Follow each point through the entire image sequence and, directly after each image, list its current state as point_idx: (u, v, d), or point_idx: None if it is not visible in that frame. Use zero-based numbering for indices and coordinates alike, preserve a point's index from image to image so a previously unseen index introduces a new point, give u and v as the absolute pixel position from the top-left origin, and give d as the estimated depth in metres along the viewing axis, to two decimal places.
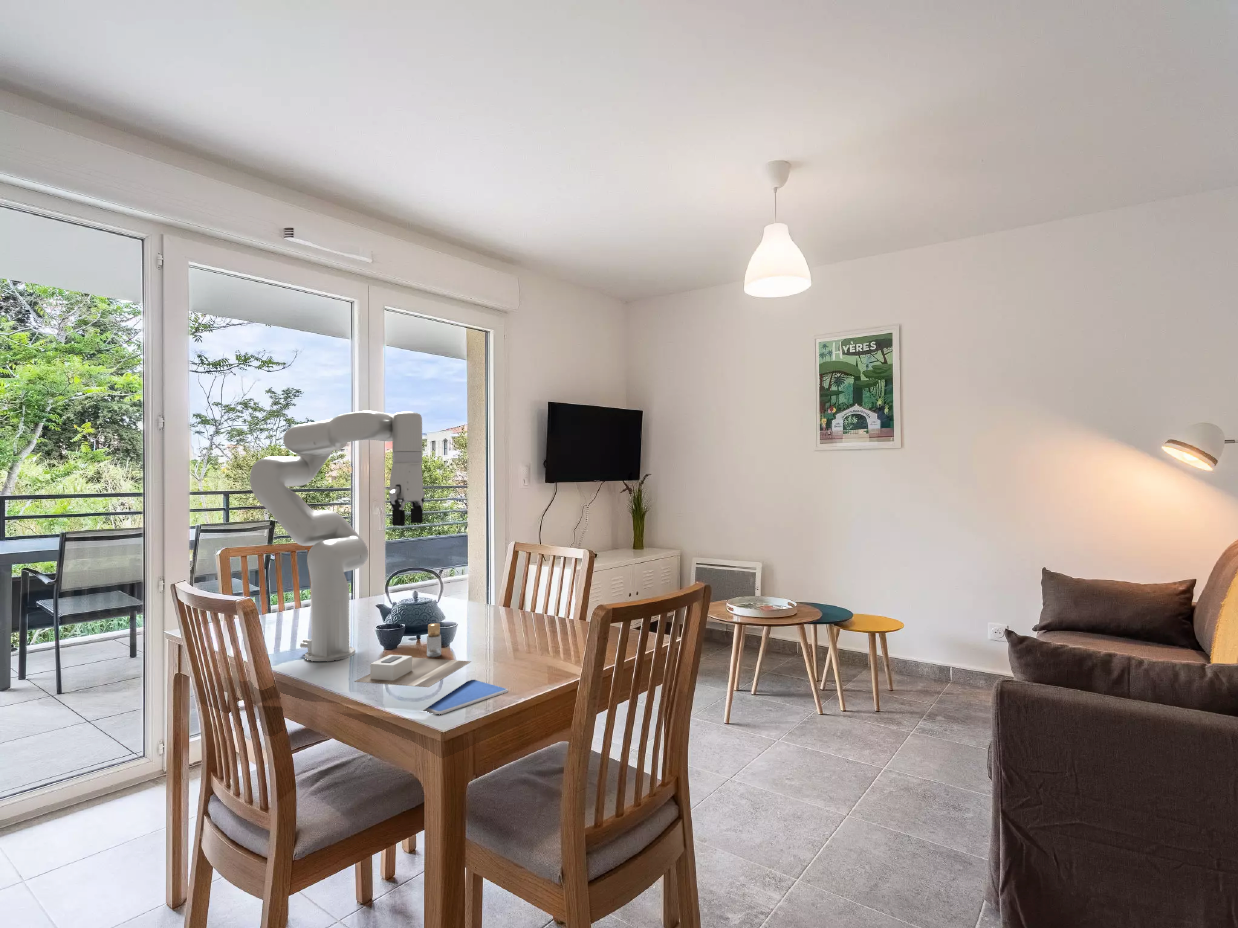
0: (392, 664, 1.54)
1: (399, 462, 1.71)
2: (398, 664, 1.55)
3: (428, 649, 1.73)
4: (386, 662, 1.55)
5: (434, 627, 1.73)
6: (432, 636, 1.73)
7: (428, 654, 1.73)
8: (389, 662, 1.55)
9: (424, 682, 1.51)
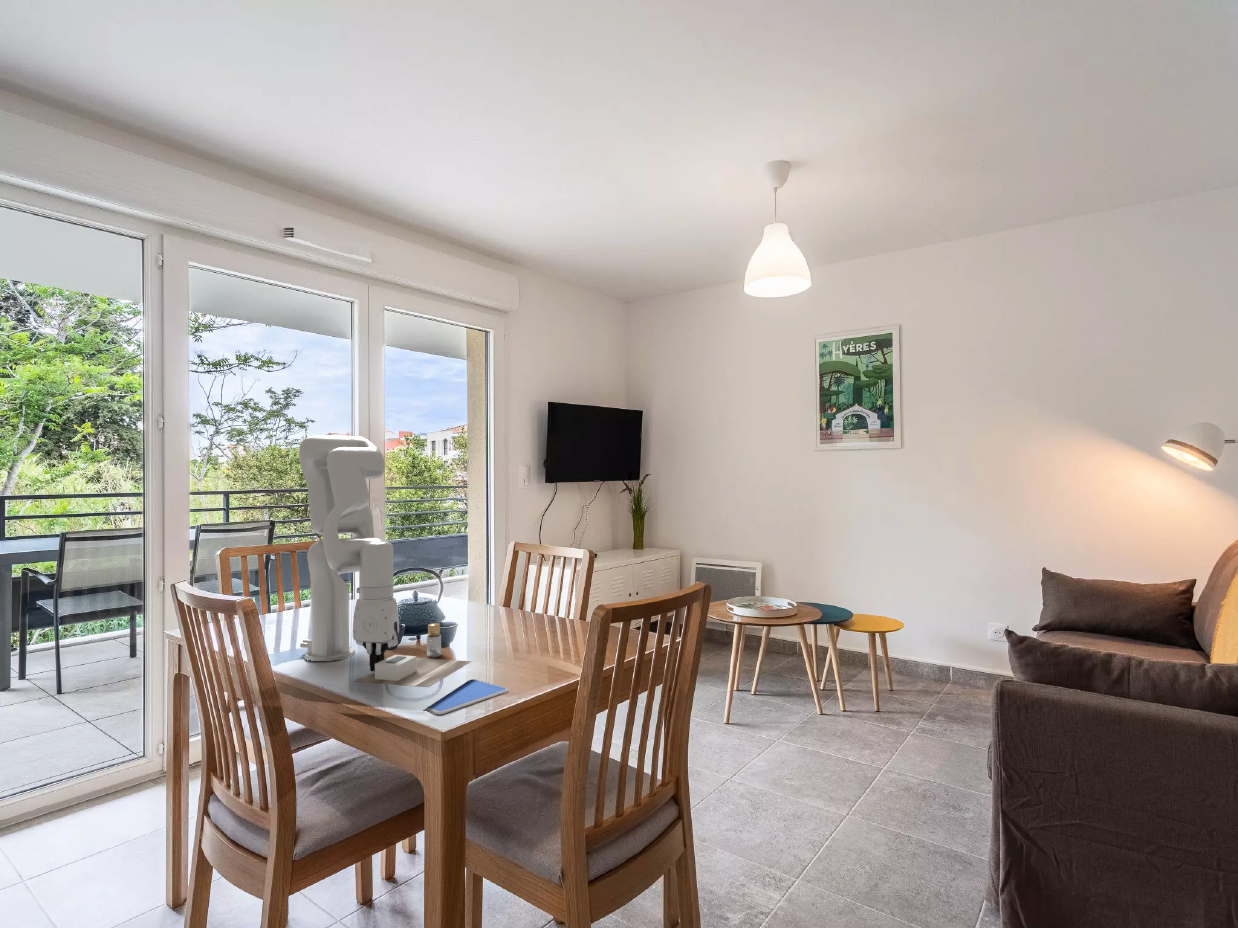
0: (396, 664, 1.53)
1: (389, 597, 1.57)
2: (402, 664, 1.55)
3: (428, 649, 1.73)
4: (390, 662, 1.55)
5: (434, 627, 1.73)
6: (432, 636, 1.73)
7: (428, 654, 1.73)
8: (393, 662, 1.55)
9: (424, 682, 1.51)
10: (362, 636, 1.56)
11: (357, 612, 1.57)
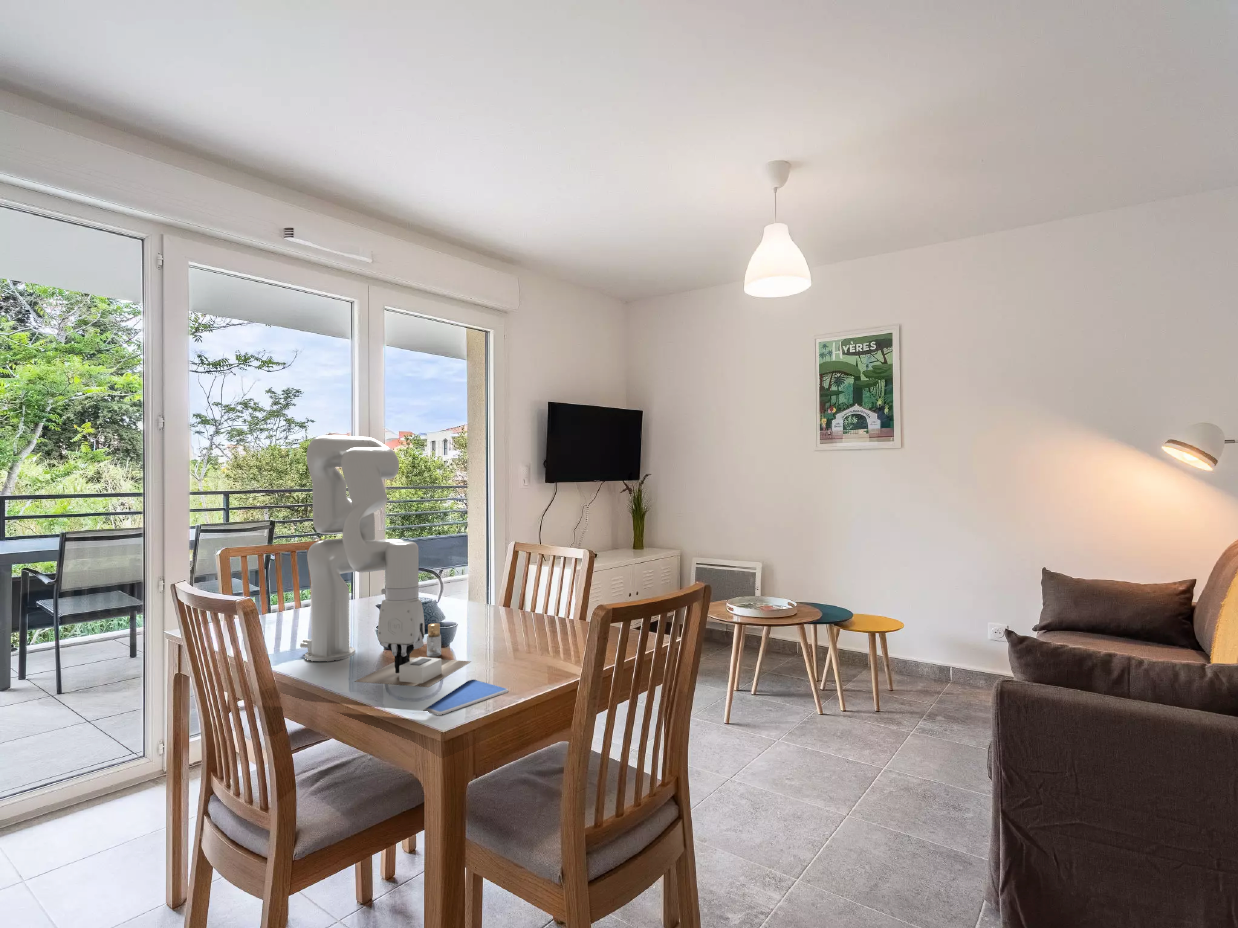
0: (421, 667, 1.51)
1: (415, 598, 1.56)
2: (427, 666, 1.52)
3: (428, 649, 1.73)
4: (415, 664, 1.53)
5: (434, 627, 1.73)
6: (432, 636, 1.73)
7: (428, 654, 1.73)
8: (418, 665, 1.53)
9: (424, 682, 1.51)
10: (388, 638, 1.55)
11: (383, 613, 1.55)
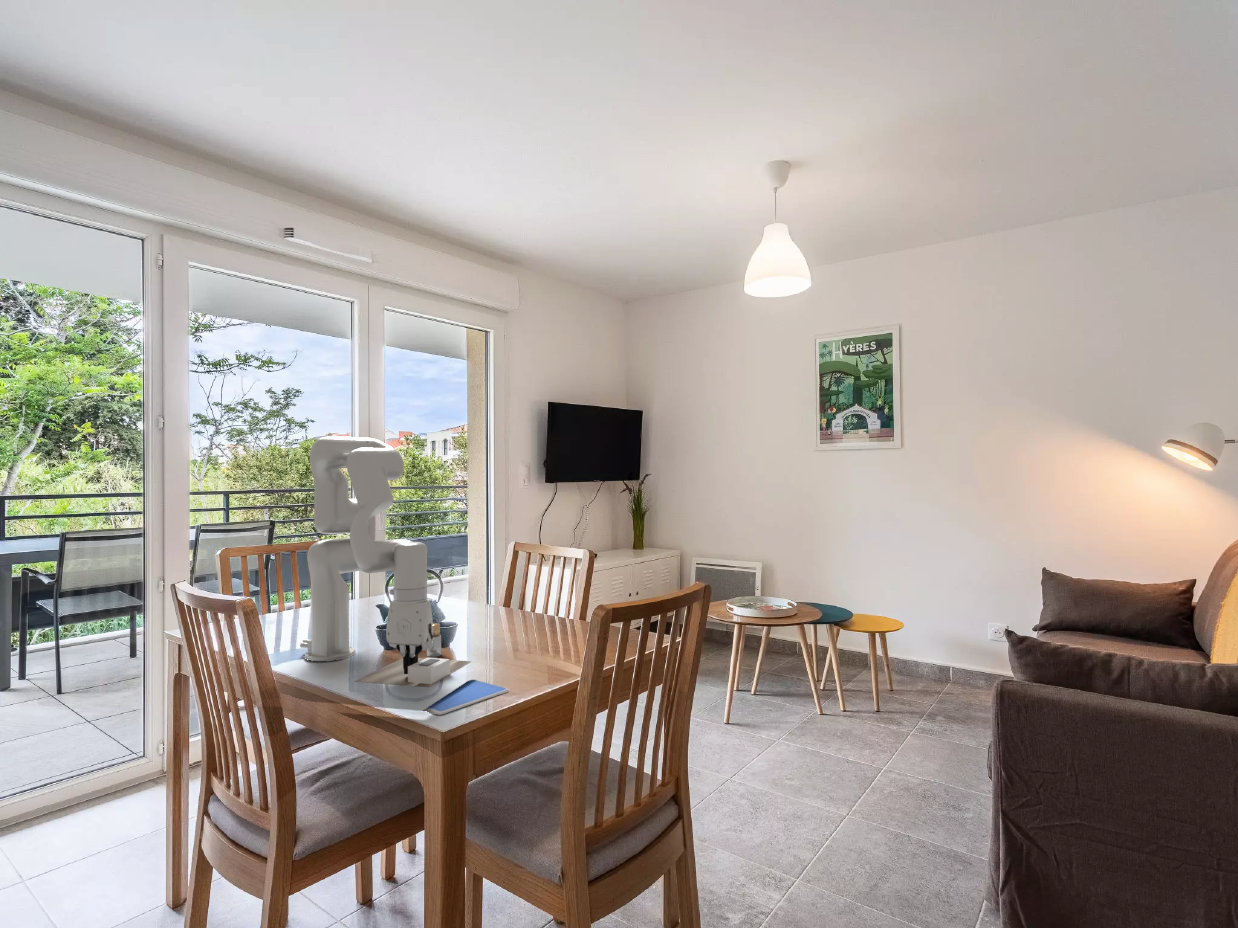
0: (430, 667, 1.51)
1: (424, 599, 1.55)
2: (435, 667, 1.52)
3: (428, 649, 1.73)
4: (424, 665, 1.52)
5: (434, 627, 1.73)
6: None
7: (428, 654, 1.73)
8: (427, 665, 1.52)
9: None
10: (396, 638, 1.54)
11: (391, 613, 1.55)
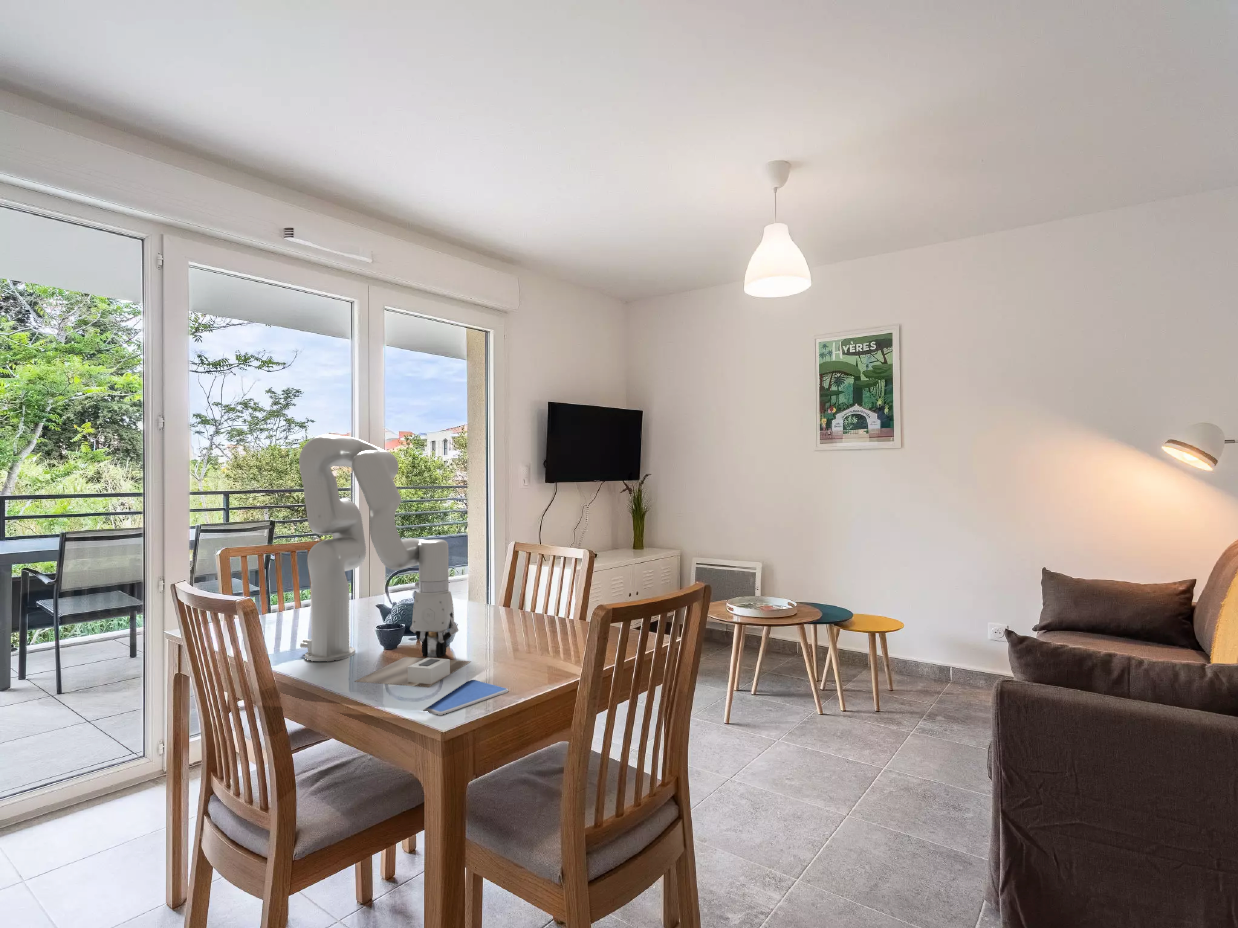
0: (430, 667, 1.51)
1: (446, 590, 1.74)
2: (435, 667, 1.52)
3: (428, 649, 1.73)
4: (424, 665, 1.52)
5: None
6: (432, 636, 1.73)
7: (428, 654, 1.73)
8: (427, 665, 1.52)
9: None
10: (421, 626, 1.73)
11: (417, 603, 1.73)
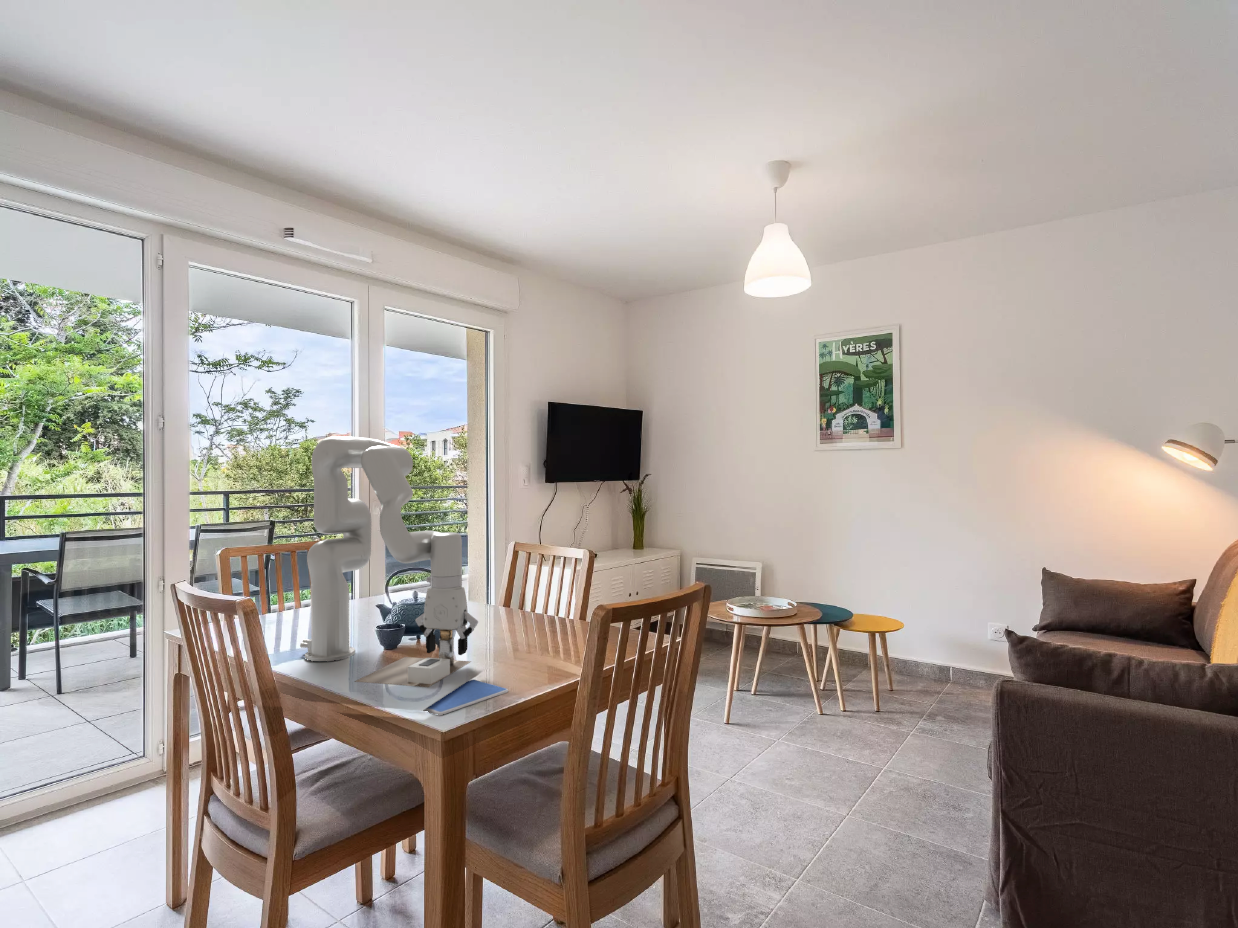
0: (430, 667, 1.51)
1: (459, 586, 1.64)
2: (435, 667, 1.52)
3: (440, 653, 1.64)
4: (424, 665, 1.52)
5: (446, 630, 1.64)
6: (444, 639, 1.64)
7: (440, 658, 1.64)
8: (427, 665, 1.52)
9: None
10: (434, 623, 1.63)
11: (429, 600, 1.64)
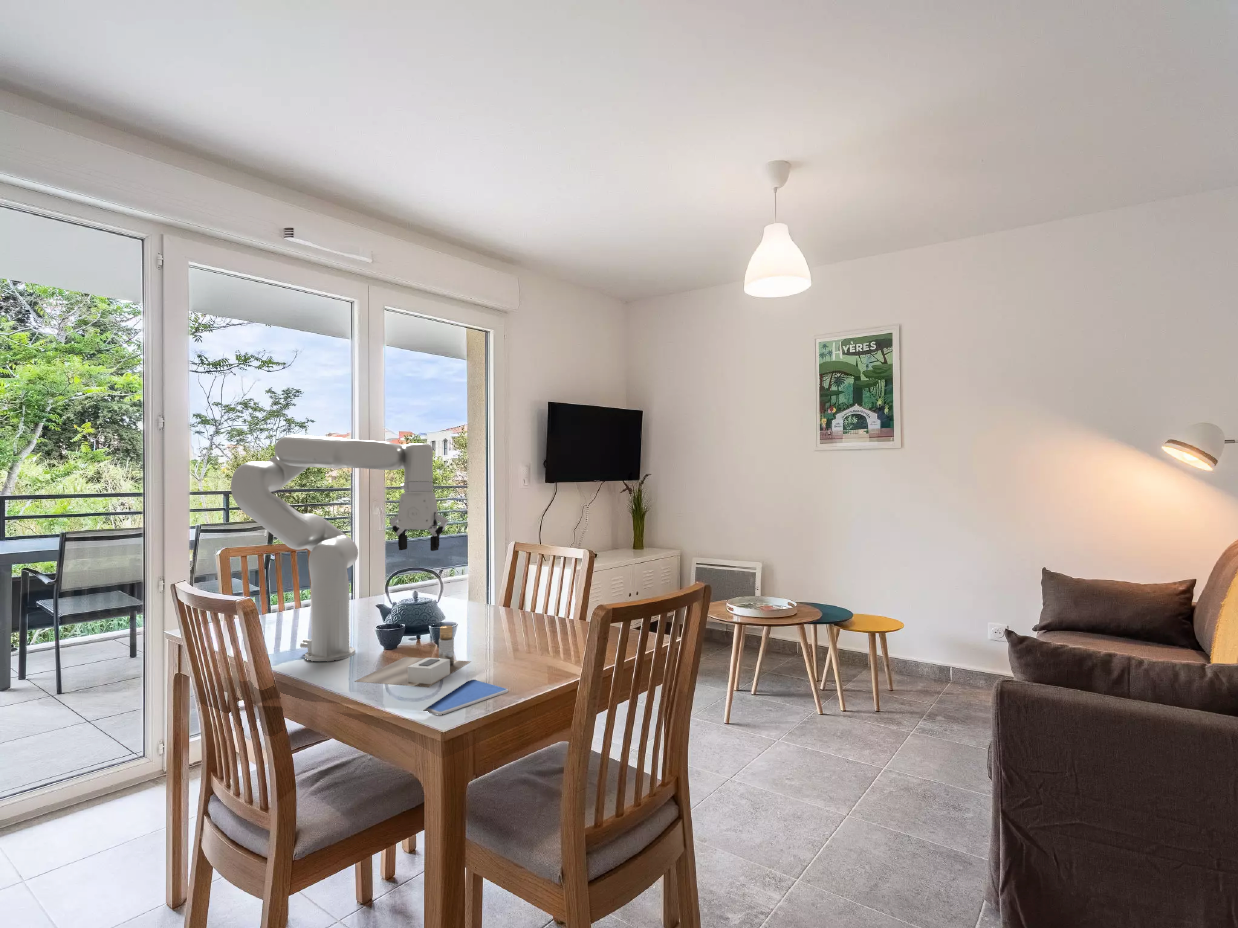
0: (430, 667, 1.51)
1: (430, 491, 1.82)
2: (435, 667, 1.52)
3: (440, 653, 1.64)
4: (424, 665, 1.52)
5: (446, 630, 1.64)
6: (444, 639, 1.64)
7: (440, 658, 1.64)
8: (427, 665, 1.52)
9: None
10: (407, 524, 1.81)
11: (402, 503, 1.81)
